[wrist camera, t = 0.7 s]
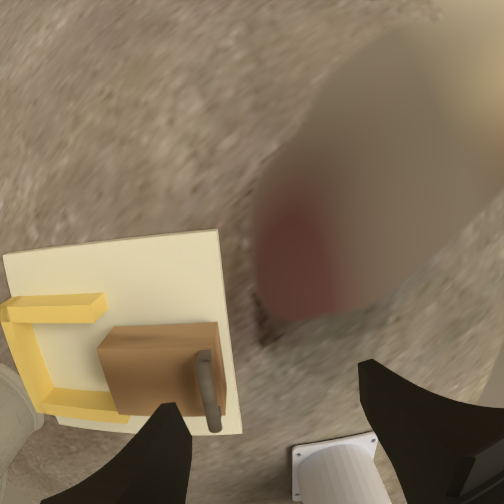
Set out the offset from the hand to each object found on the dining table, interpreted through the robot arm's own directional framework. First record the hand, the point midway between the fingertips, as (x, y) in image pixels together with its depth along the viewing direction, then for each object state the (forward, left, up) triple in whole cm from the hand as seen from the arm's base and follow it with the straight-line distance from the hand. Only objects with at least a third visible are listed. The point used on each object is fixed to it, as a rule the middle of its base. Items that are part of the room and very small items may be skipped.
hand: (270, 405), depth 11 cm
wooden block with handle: (-3, +6, -9) cm, 11 cm away
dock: (-3, +11, -10) cm, 15 cm away
